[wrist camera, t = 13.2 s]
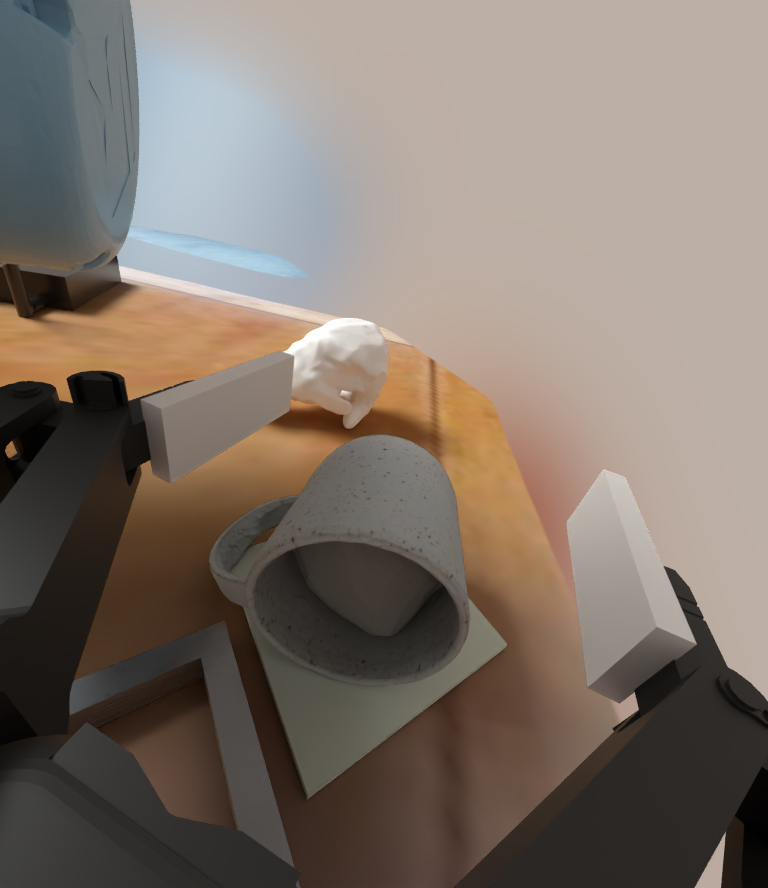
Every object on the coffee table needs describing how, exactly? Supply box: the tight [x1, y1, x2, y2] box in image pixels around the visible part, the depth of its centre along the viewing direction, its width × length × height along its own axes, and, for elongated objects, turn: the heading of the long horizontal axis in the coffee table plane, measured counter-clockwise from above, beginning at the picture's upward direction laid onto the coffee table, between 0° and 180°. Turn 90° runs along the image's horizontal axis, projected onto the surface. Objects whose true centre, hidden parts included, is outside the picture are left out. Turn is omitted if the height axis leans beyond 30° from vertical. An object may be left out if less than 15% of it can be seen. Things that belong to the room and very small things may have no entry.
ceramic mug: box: [209, 434, 470, 686], centre depth 15 cm, size 11×8×8 cm
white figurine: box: [283, 318, 388, 429], centre depth 29 cm, size 6×8×12 cm
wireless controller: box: [0, 255, 121, 318], centre depth 37 cm, size 20×14×17 cm
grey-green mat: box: [231, 541, 508, 799], centre depth 17 cm, size 10×10×1 cm
